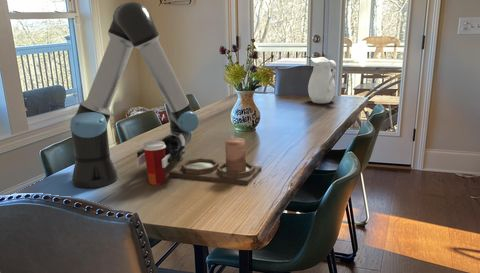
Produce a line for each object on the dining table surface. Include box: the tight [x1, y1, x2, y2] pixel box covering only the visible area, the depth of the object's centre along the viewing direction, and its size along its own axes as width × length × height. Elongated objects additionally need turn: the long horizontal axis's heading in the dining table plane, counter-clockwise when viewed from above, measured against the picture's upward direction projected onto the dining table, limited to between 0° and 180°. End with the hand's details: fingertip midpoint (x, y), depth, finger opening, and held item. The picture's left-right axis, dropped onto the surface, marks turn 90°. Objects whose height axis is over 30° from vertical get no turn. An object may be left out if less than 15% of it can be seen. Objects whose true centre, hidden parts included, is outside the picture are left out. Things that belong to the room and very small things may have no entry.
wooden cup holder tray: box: [168, 137, 262, 186], centre depth 160 cm, size 15×30×13 cm, turn 69°
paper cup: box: [142, 140, 167, 186], centre depth 153 cm, size 8×8×14 cm
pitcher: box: [307, 56, 338, 104], centre depth 278 cm, size 24×17×28 cm
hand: (150, 163), depth 148 cm, fingers open, 8 cm apart
